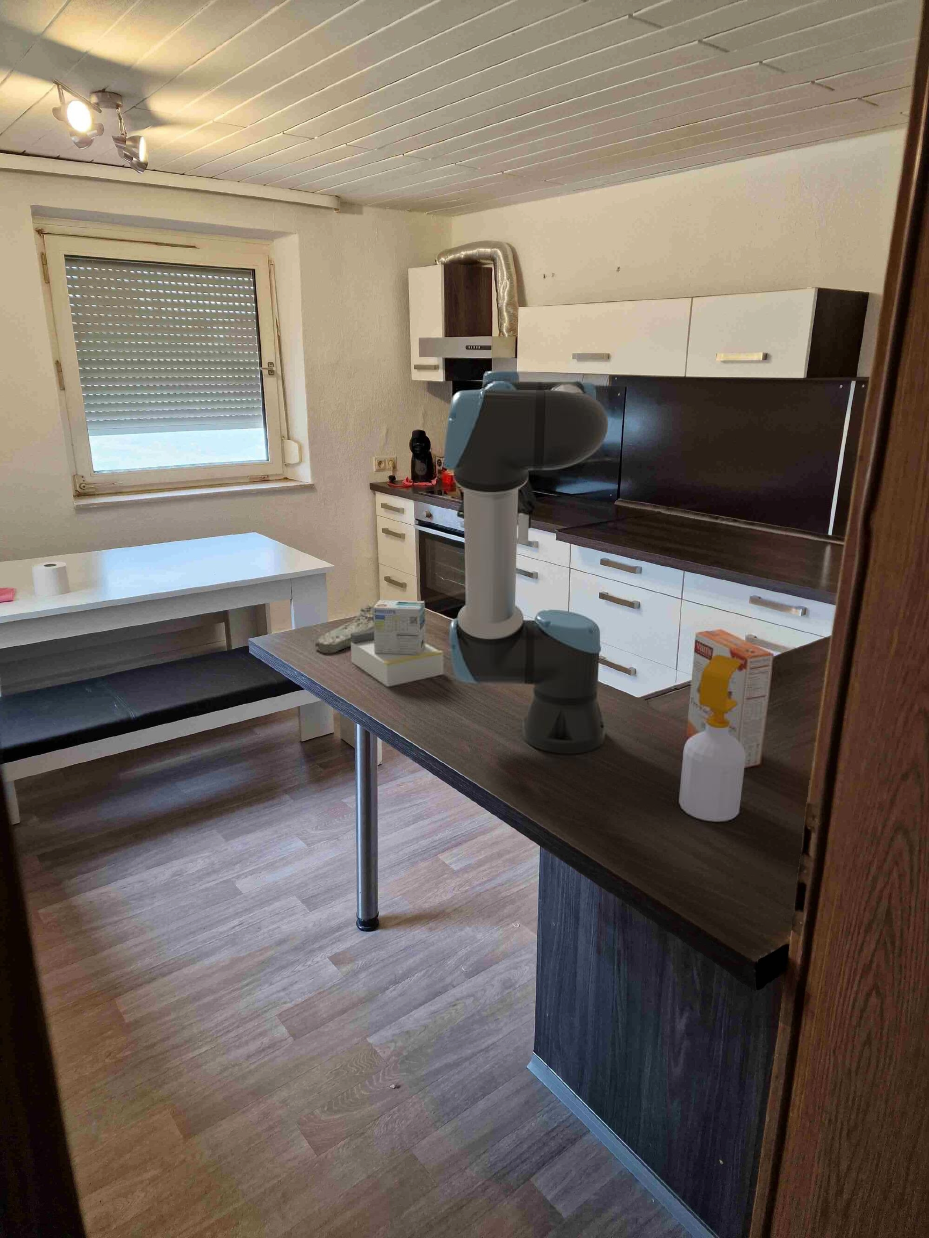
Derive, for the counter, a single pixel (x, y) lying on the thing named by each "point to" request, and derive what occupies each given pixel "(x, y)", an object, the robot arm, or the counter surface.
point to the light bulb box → (399, 627)
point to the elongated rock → (346, 632)
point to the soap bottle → (713, 752)
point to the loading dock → (394, 661)
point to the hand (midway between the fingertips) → (498, 547)
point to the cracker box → (734, 690)
